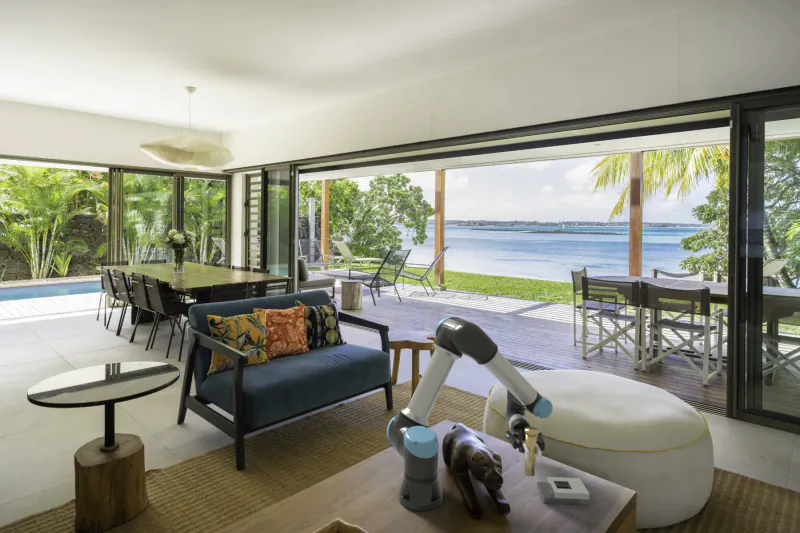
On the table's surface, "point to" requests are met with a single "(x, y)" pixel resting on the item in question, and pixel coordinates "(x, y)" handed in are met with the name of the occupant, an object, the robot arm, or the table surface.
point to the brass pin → (530, 450)
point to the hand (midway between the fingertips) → (534, 456)
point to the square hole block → (563, 491)
